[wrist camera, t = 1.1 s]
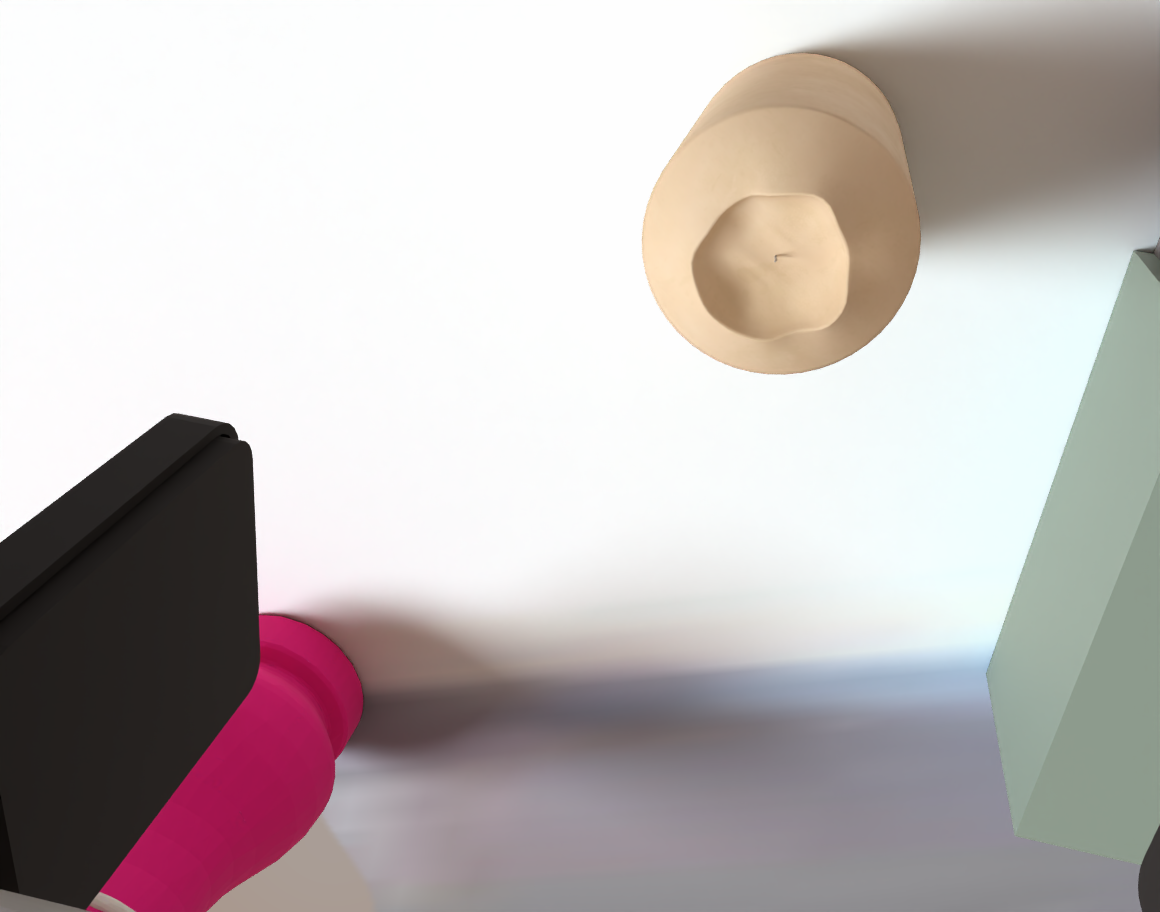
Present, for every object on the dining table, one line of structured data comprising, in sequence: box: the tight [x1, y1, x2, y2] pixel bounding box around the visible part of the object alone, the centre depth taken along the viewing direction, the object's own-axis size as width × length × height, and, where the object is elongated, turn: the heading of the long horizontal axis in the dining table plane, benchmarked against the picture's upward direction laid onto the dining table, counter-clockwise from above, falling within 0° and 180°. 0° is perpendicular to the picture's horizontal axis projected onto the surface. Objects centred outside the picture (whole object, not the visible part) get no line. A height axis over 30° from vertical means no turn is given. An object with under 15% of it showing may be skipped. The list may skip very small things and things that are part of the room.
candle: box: [642, 53, 921, 374], centre depth 25 cm, size 6×6×10 cm
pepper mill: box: [86, 615, 363, 912], centre depth 33 cm, size 7×7×20 cm
